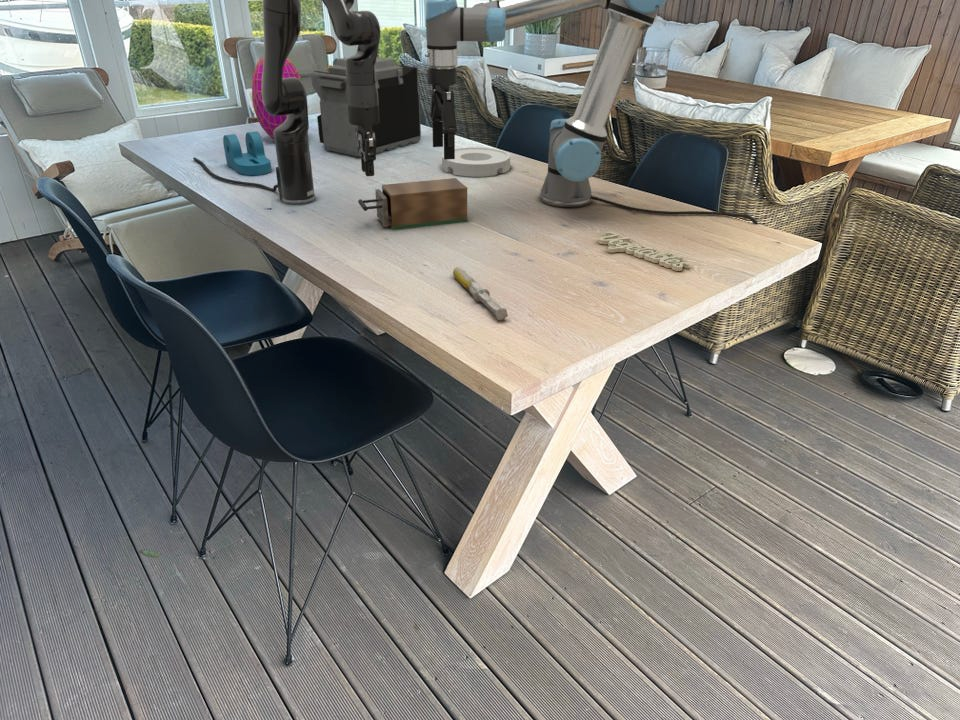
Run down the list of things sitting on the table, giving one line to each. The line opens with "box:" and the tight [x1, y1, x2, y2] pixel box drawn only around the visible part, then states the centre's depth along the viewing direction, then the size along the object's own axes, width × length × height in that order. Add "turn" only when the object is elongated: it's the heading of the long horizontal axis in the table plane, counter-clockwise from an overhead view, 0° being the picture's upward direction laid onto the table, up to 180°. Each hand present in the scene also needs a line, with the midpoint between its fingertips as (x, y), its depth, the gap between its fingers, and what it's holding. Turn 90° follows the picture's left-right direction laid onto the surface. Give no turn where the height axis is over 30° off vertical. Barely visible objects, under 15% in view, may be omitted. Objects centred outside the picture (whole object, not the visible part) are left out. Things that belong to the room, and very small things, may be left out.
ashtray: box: [441, 146, 511, 178], centre depth 232 cm, size 23×23×4 cm
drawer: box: [357, 188, 391, 227], centre depth 183 cm, size 25×8×7 cm, turn 110°
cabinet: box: [381, 177, 468, 231], centre depth 185 cm, size 21×10×9 cm, turn 110°
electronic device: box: [310, 57, 422, 158], centre depth 250 cm, size 37×22×30 cm, turn 144°
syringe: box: [452, 266, 509, 321], centre depth 145 cm, size 25×4×3 cm, turn 21°
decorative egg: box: [251, 56, 303, 140], centre depth 257 cm, size 19×19×30 cm
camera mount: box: [222, 131, 272, 176], centre depth 226 cm, size 18×10×10 cm, turn 35°
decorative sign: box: [598, 231, 690, 272], centre depth 167 cm, size 26×1×10 cm
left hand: (368, 173), depth 175 cm, fingers open, 3 cm apart
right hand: (443, 152), depth 183 cm, fingers open, 13 cm apart
